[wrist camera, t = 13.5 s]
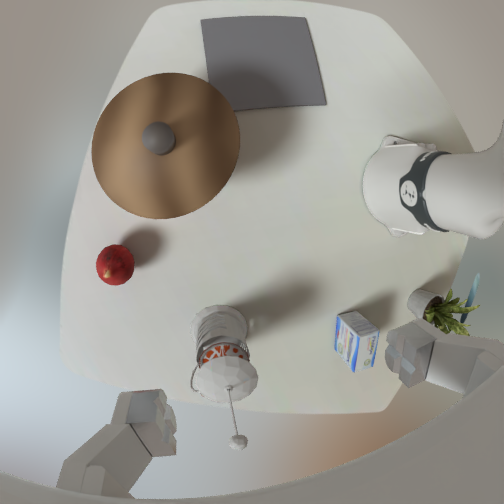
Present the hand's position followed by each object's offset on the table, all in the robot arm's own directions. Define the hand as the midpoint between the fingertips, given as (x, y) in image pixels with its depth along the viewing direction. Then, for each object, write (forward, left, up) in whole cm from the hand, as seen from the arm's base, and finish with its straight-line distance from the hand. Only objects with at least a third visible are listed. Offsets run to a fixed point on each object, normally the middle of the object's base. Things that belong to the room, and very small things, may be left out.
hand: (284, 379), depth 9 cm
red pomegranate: (+16, +2, -35) cm, 39 cm away
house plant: (-37, +23, -35) cm, 56 cm away
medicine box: (-20, +24, -35) cm, 47 cm away
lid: (+5, -12, -25) cm, 28 cm away
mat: (-11, -26, -35) cm, 45 cm away
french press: (+4, +18, -35) cm, 40 cm away
